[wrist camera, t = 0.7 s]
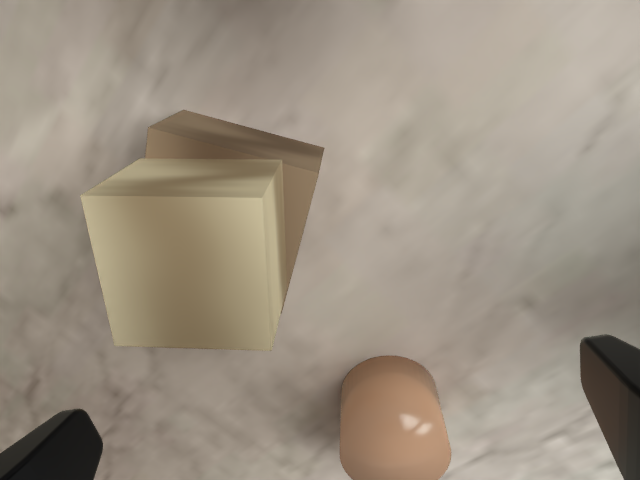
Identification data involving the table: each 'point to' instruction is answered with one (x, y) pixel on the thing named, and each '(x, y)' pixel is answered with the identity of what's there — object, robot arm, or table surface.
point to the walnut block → (244, 143)
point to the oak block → (191, 252)
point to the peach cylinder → (392, 422)
